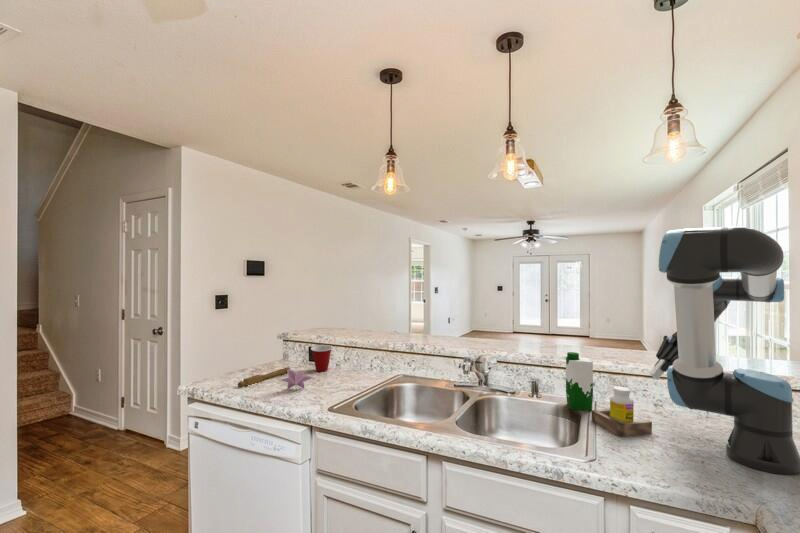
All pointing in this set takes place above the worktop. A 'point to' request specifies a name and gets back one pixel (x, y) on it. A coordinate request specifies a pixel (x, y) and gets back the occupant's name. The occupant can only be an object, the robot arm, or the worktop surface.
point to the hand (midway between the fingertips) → (653, 376)
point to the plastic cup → (321, 357)
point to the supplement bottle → (621, 405)
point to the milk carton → (579, 382)
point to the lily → (296, 378)
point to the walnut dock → (621, 424)
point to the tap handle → (261, 377)
